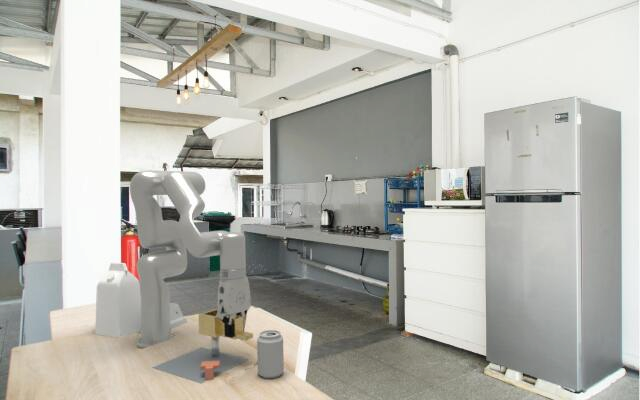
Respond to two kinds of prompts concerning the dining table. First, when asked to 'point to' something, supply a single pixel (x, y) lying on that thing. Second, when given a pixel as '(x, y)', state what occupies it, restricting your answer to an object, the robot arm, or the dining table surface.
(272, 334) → the can
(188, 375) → the base plate
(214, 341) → the cylinder
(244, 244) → the robot arm
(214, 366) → the pink t-shaped block
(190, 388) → the dining table surface
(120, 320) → the milk
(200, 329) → the link
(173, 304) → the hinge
